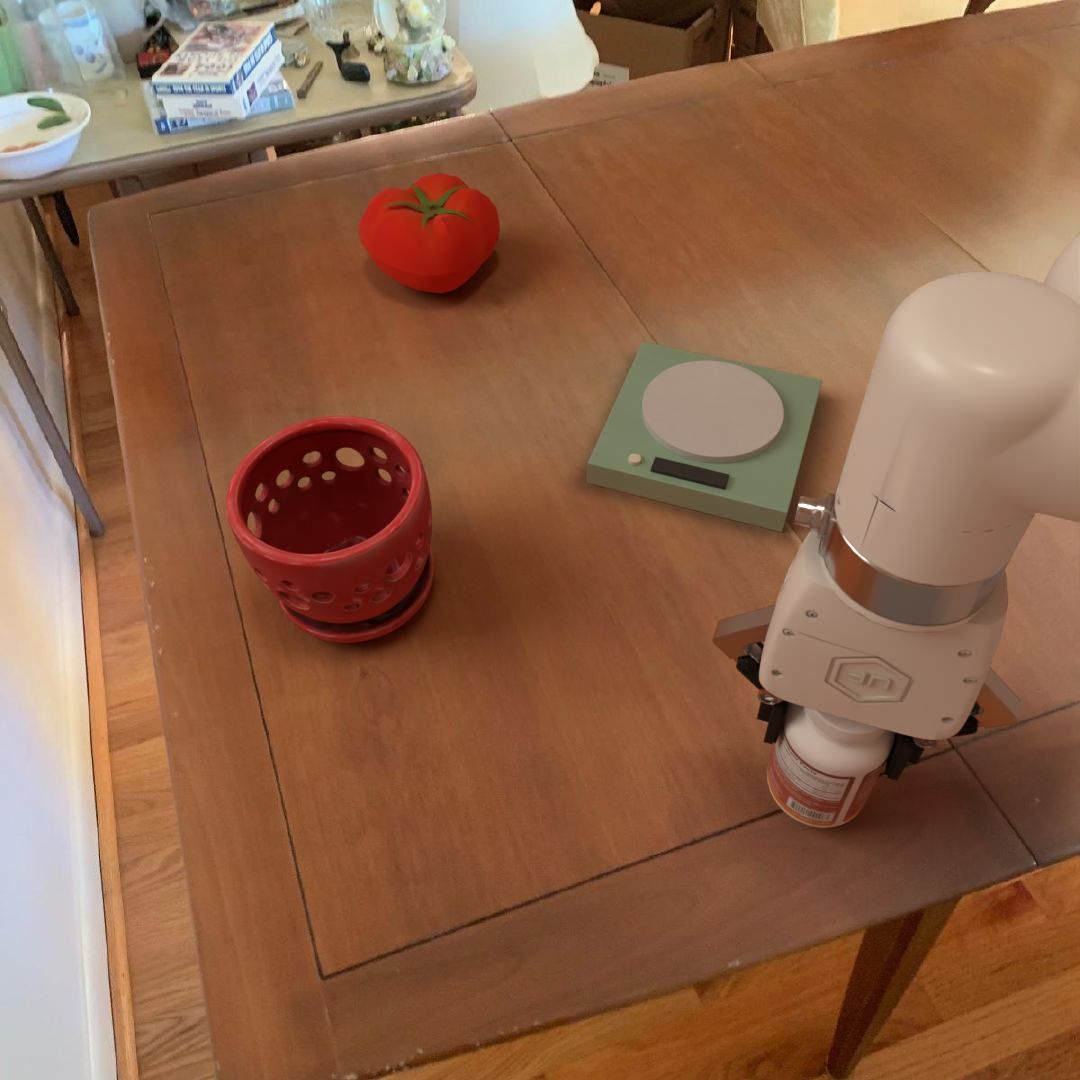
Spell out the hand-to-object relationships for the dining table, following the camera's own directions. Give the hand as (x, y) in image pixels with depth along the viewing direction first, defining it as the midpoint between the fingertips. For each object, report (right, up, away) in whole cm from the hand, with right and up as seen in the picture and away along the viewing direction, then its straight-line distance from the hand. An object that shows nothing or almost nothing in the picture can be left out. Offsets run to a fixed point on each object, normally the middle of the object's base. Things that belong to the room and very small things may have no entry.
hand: (833, 738), depth 56 cm
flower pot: (-31, +8, +16) cm, 36 cm away
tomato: (-27, +38, +41) cm, 62 cm away
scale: (-3, +20, +26) cm, 33 cm away
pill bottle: (0, -4, +5) cm, 6 cm away
